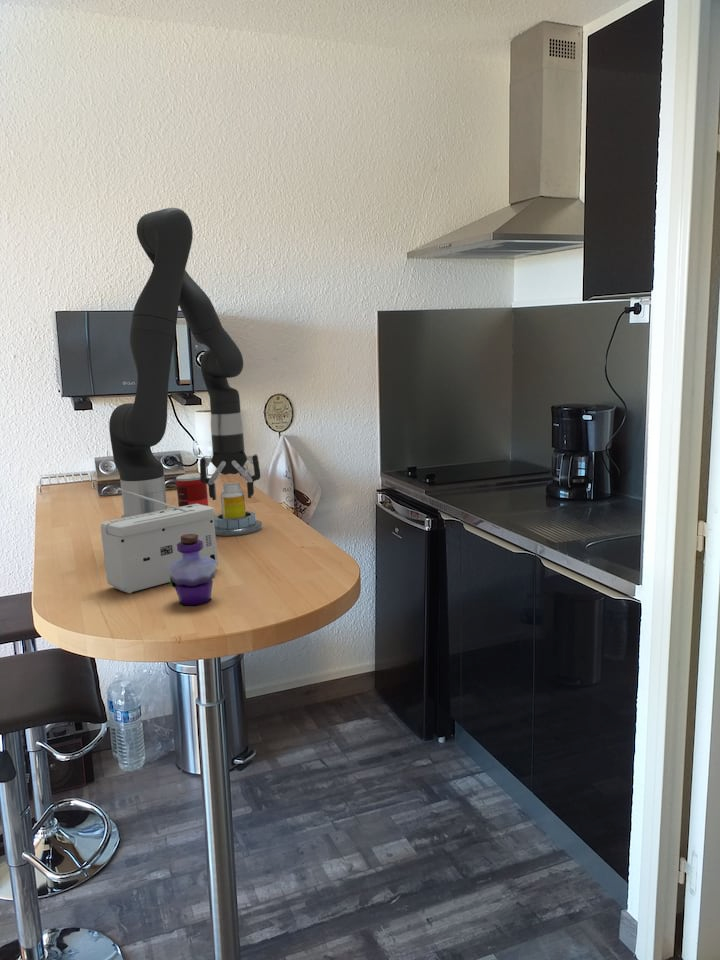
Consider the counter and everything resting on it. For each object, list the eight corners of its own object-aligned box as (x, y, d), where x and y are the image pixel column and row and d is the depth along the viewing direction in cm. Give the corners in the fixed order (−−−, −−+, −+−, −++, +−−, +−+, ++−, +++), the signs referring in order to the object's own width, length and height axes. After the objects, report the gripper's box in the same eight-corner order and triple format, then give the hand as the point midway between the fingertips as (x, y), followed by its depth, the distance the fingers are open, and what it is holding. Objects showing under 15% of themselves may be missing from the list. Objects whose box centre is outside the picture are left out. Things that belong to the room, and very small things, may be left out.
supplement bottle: (250, 525, 184) (246, 483, 182) (229, 529, 181) (225, 487, 179) (240, 521, 189) (237, 481, 187) (220, 525, 186) (216, 484, 184)
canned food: (213, 512, 207) (210, 473, 205) (201, 519, 199) (197, 478, 197) (188, 512, 208) (184, 473, 207) (174, 519, 201) (170, 478, 199)
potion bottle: (170, 596, 136) (164, 532, 134) (219, 590, 138) (213, 527, 136) (169, 612, 128) (162, 543, 126) (221, 605, 130) (215, 538, 128)
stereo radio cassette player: (202, 563, 157) (194, 469, 153) (223, 571, 151) (215, 472, 147) (105, 588, 143) (93, 485, 140) (124, 597, 137) (112, 490, 134)
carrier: (242, 538, 176) (241, 523, 176) (197, 534, 182) (196, 520, 181) (272, 525, 188) (271, 510, 187) (229, 522, 193) (228, 508, 193)
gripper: (195, 435, 177) (200, 503, 179) (256, 432, 178) (260, 499, 180) (199, 432, 184) (204, 497, 187) (257, 429, 185) (262, 494, 188)
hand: (232, 498), depth 183 cm, fingers open, 8 cm apart
